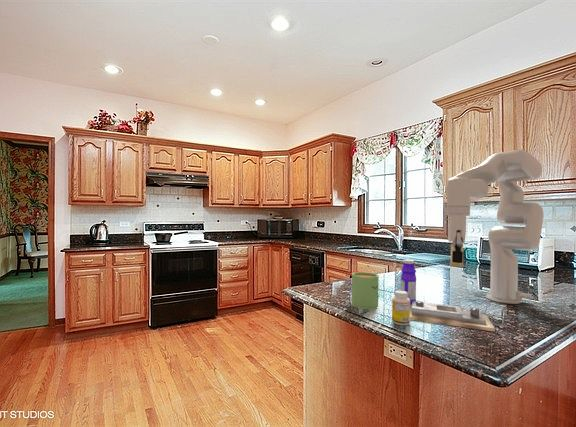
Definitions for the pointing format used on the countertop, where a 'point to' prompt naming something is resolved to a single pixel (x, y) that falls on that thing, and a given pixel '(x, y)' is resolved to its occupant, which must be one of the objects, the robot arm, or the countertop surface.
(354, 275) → the mug
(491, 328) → the board
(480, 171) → the robot arm
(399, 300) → the supplement bottle
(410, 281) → the bottle
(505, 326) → the countertop surface
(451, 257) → the pin
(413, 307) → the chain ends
